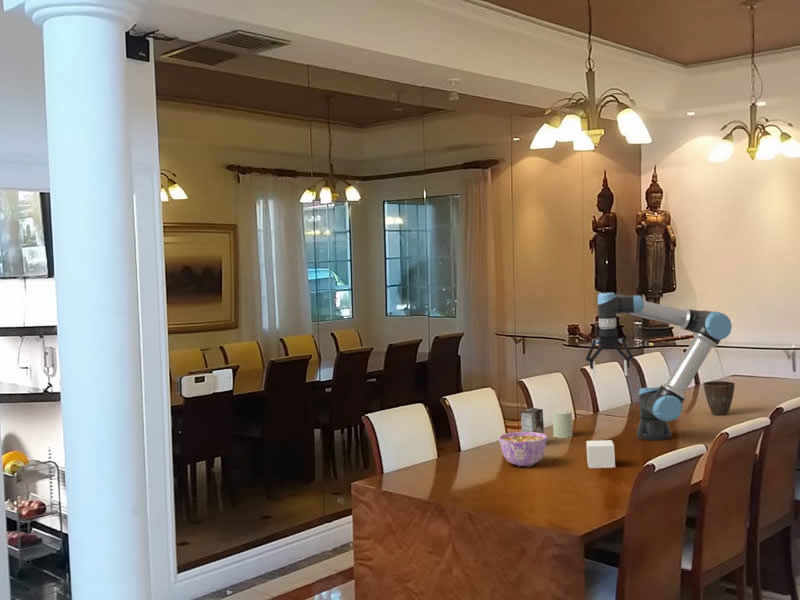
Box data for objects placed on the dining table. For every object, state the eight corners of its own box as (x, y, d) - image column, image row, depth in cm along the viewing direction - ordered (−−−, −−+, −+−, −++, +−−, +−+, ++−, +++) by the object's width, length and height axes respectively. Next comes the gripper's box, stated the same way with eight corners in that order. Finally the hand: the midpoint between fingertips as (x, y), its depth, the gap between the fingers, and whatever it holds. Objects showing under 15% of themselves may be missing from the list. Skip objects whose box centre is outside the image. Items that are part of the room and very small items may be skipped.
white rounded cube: (612, 461, 332) (611, 440, 332) (615, 467, 322) (614, 445, 322) (587, 461, 334) (586, 440, 333) (589, 468, 324) (588, 446, 323)
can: (573, 438, 380) (571, 412, 379) (553, 438, 382) (551, 413, 381) (572, 433, 389) (571, 409, 388) (553, 434, 391) (552, 409, 390)
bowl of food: (518, 473, 322) (517, 444, 322) (490, 463, 340) (489, 436, 340) (558, 464, 332) (556, 437, 331) (529, 456, 349) (527, 429, 349)
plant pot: (738, 412, 417) (737, 381, 416) (732, 417, 404) (731, 386, 403) (708, 411, 425) (706, 380, 424) (701, 416, 412) (700, 385, 411)
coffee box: (533, 441, 376) (531, 407, 375) (545, 443, 372) (543, 408, 371) (521, 445, 370) (519, 410, 369) (533, 447, 365) (531, 412, 364)
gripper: (579, 329, 353) (581, 377, 354) (638, 327, 349) (640, 375, 350) (578, 328, 361) (580, 375, 362) (635, 325, 357) (638, 373, 357)
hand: (610, 375), depth 356 cm, fingers open, 13 cm apart
